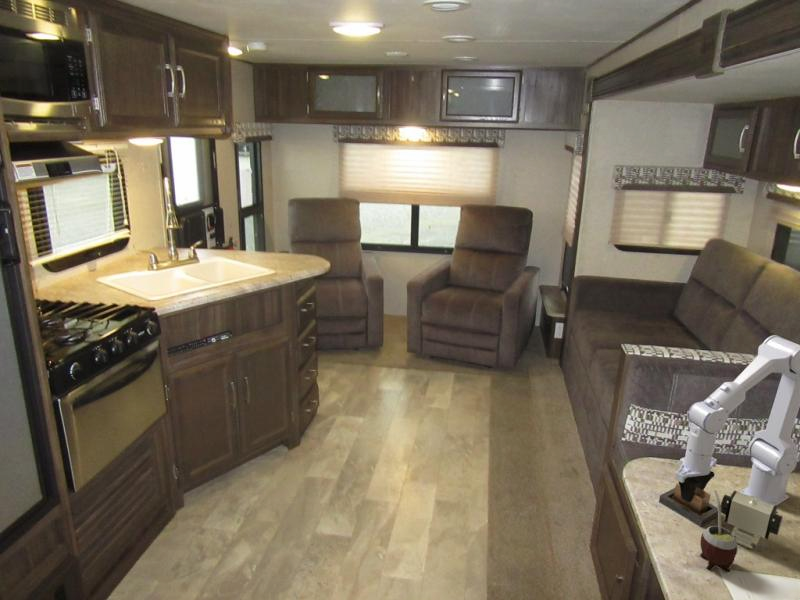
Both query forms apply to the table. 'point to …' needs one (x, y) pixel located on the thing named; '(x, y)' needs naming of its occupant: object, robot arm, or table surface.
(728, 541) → the mate gourd
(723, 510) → the pneumatic valve
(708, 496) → the brown rectangular block
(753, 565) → the table surface
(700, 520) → the duct collar
